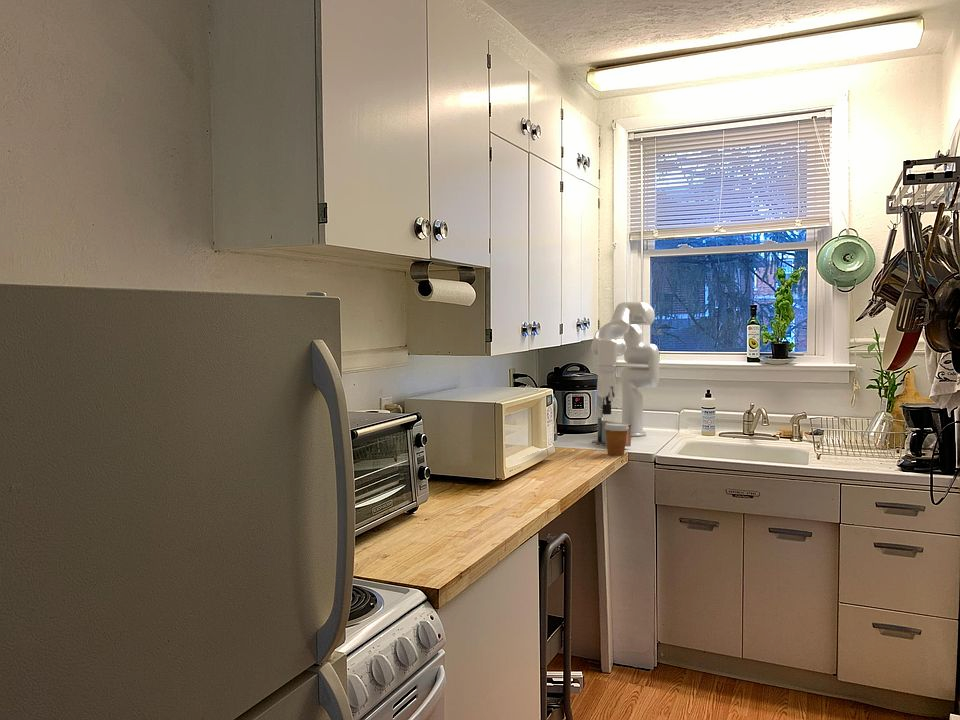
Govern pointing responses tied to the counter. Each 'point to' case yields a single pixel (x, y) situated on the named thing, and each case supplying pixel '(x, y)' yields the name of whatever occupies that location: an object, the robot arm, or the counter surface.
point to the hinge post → (599, 433)
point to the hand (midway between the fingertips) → (606, 414)
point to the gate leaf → (628, 439)
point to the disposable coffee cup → (616, 438)
